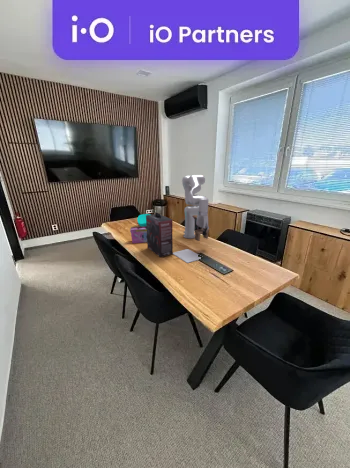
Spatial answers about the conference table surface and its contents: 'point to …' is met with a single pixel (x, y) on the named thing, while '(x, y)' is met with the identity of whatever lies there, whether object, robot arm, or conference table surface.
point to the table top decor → (142, 220)
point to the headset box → (159, 234)
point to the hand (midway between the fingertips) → (201, 233)
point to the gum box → (139, 234)
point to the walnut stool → (200, 231)
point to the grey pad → (187, 255)
